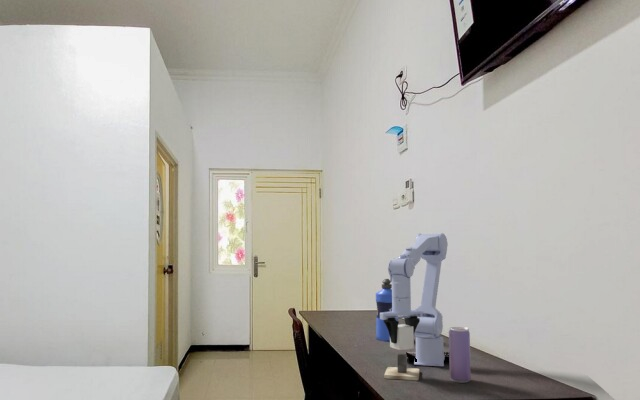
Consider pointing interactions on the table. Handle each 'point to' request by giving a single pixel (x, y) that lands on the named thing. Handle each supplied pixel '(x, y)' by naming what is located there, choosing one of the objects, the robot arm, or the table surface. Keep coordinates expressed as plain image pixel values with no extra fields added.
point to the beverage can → (459, 354)
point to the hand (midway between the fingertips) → (401, 342)
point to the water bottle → (383, 310)
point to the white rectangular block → (404, 338)
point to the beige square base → (402, 370)
